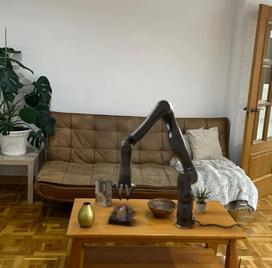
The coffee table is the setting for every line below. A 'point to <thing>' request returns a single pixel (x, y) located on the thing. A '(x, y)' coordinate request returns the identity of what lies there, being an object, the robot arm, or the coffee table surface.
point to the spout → (121, 212)
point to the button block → (128, 209)
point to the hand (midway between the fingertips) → (123, 199)
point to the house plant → (201, 201)
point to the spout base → (121, 220)
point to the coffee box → (103, 192)
